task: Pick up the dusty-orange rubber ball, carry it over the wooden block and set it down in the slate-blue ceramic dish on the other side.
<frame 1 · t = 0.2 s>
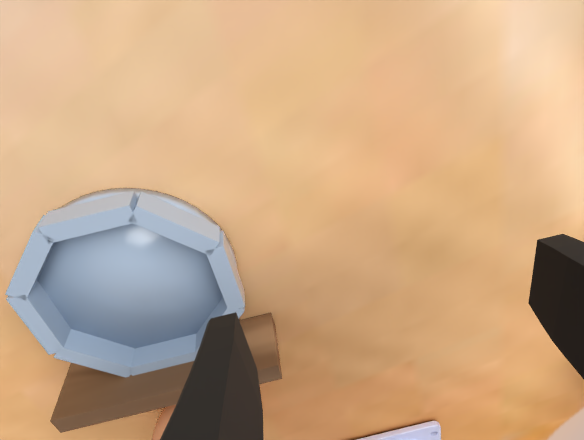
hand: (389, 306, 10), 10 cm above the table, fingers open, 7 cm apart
ball: (202, 397, 27), on the table
wooden block: (174, 343, 24), on the table
dish: (139, 274, 21), on the table
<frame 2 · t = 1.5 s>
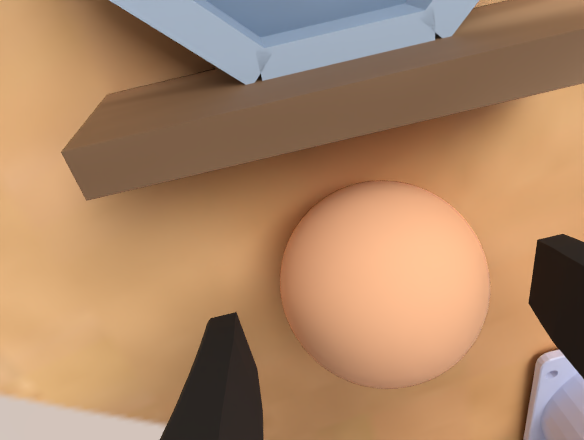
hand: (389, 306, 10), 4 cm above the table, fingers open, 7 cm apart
ball: (355, 227, 14), on the table
wooden block: (332, 63, 11), on the table
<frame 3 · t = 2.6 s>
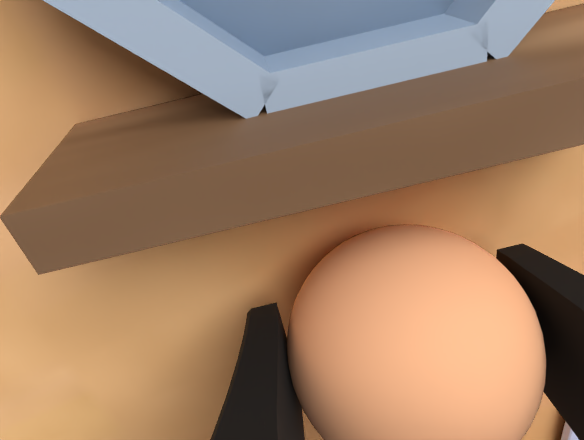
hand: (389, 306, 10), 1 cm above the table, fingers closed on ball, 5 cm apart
ball: (372, 270, 12), on the table, touching gripper
wooden block: (350, 84, 9), on the table
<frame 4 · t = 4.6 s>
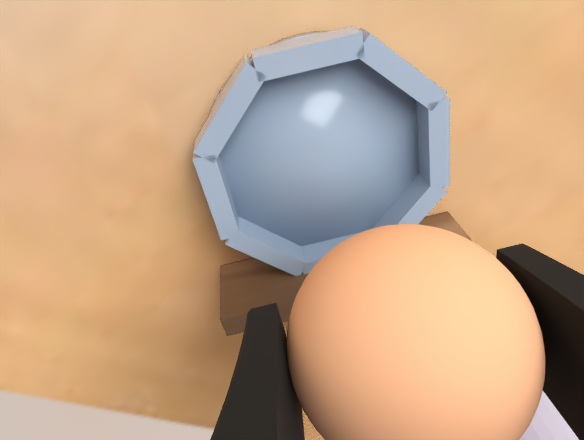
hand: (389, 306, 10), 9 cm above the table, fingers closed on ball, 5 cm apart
ball: (371, 269, 12), point 8 cm above the table, touching gripper
wooden block: (335, 246, 21), on the table
dish: (319, 152, 18), on the table
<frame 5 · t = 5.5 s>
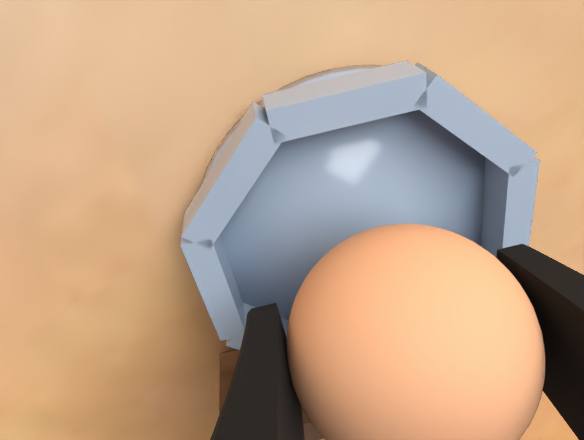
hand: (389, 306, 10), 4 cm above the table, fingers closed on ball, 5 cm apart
ball: (371, 269, 12), point 3 cm above the table, touching gripper
wooden block: (366, 328, 17), on the table
dish: (350, 219, 14), on the table
when the fingers open (4 cm above the table, at t = 6.5 s): ball drops 2 cm, resting on dish.
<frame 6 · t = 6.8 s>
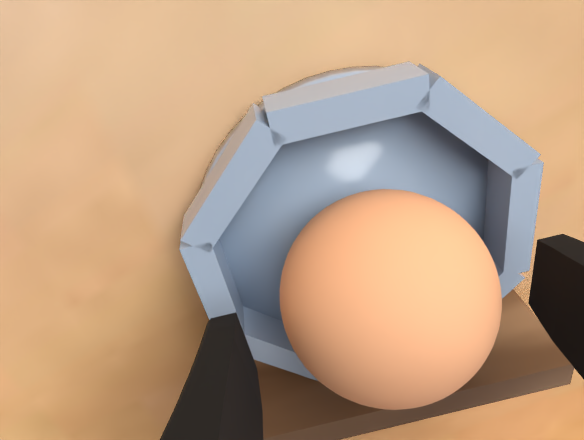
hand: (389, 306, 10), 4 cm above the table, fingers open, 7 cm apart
ball: (356, 236, 13), point 1 cm above the table, touching dish
wooden block: (367, 331, 16), on the table
dish: (351, 222, 14), on the table
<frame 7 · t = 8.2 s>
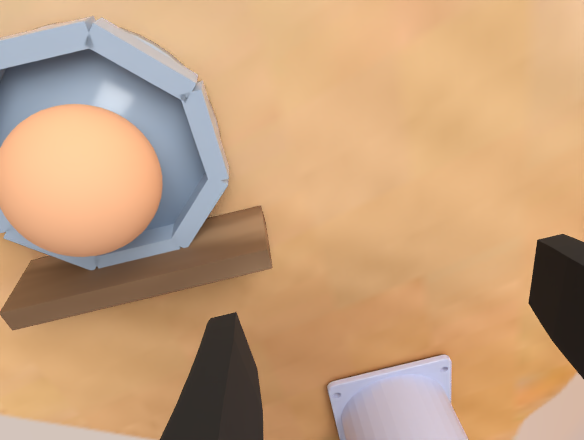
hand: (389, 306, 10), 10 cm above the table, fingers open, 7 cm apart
ball: (99, 153, 17), point 1 cm above the table, touching dish
wooden block: (150, 241, 21), on the table
dish: (105, 145, 18), on the table
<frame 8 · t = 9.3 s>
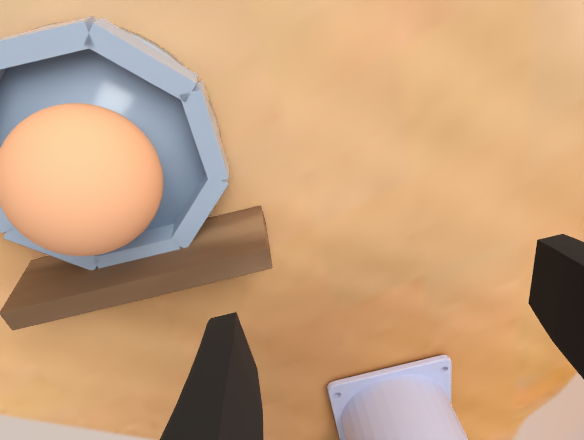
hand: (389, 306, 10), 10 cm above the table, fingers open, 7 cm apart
ball: (99, 153, 17), point 1 cm above the table, touching dish
wooden block: (150, 241, 21), on the table
dish: (105, 145, 18), on the table
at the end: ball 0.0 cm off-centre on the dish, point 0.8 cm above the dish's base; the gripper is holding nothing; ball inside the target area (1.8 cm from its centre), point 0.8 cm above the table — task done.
